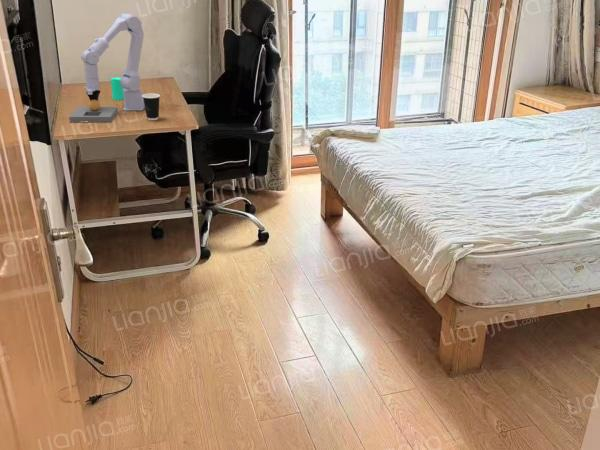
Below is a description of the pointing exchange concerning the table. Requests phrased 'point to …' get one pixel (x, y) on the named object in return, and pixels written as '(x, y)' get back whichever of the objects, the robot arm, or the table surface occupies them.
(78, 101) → the table surface
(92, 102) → the ball
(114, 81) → the candle
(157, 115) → the dixie cup
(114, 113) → the plate
